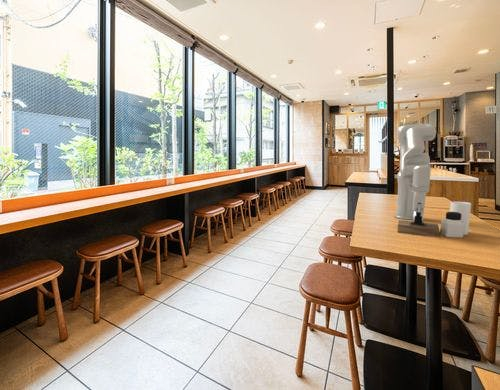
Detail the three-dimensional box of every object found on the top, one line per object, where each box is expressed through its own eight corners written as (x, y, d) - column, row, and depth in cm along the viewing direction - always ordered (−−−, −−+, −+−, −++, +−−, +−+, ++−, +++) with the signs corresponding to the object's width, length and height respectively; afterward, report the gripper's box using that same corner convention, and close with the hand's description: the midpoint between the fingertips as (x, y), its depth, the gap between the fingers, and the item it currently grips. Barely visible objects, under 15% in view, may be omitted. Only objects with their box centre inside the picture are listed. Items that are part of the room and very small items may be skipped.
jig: (398, 226, 147) (399, 219, 146) (437, 231, 137) (437, 223, 136) (397, 232, 137) (397, 224, 136) (438, 237, 127) (439, 228, 126)
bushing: (412, 225, 140) (413, 209, 138) (422, 226, 137) (423, 210, 136) (412, 227, 136) (413, 211, 135) (422, 228, 134) (423, 212, 132)
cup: (449, 229, 140) (452, 200, 137) (468, 232, 134) (472, 202, 131) (446, 232, 134) (449, 203, 132) (467, 235, 128) (470, 204, 126)
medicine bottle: (463, 237, 125) (466, 214, 122) (446, 237, 126) (449, 214, 124) (455, 232, 131) (458, 210, 129) (439, 232, 133) (442, 210, 131)
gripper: (412, 186, 143) (409, 218, 145) (411, 190, 129) (409, 225, 131) (428, 187, 138) (425, 219, 141) (429, 191, 125) (426, 227, 127)
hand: (417, 222), depth 136 cm, fingers closed on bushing, 4 cm apart
